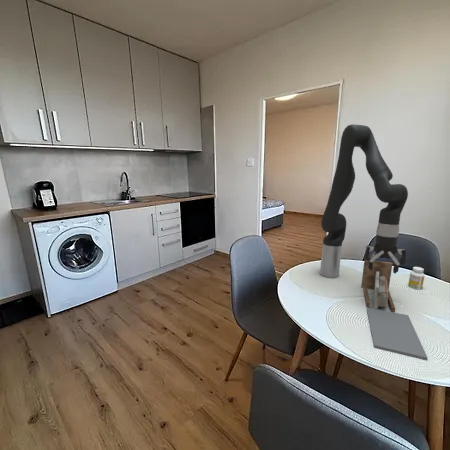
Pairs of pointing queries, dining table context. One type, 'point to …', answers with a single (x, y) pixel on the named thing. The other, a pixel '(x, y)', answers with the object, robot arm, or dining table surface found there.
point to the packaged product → (380, 291)
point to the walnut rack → (369, 280)
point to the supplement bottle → (416, 278)
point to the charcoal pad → (394, 333)
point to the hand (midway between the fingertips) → (382, 271)
